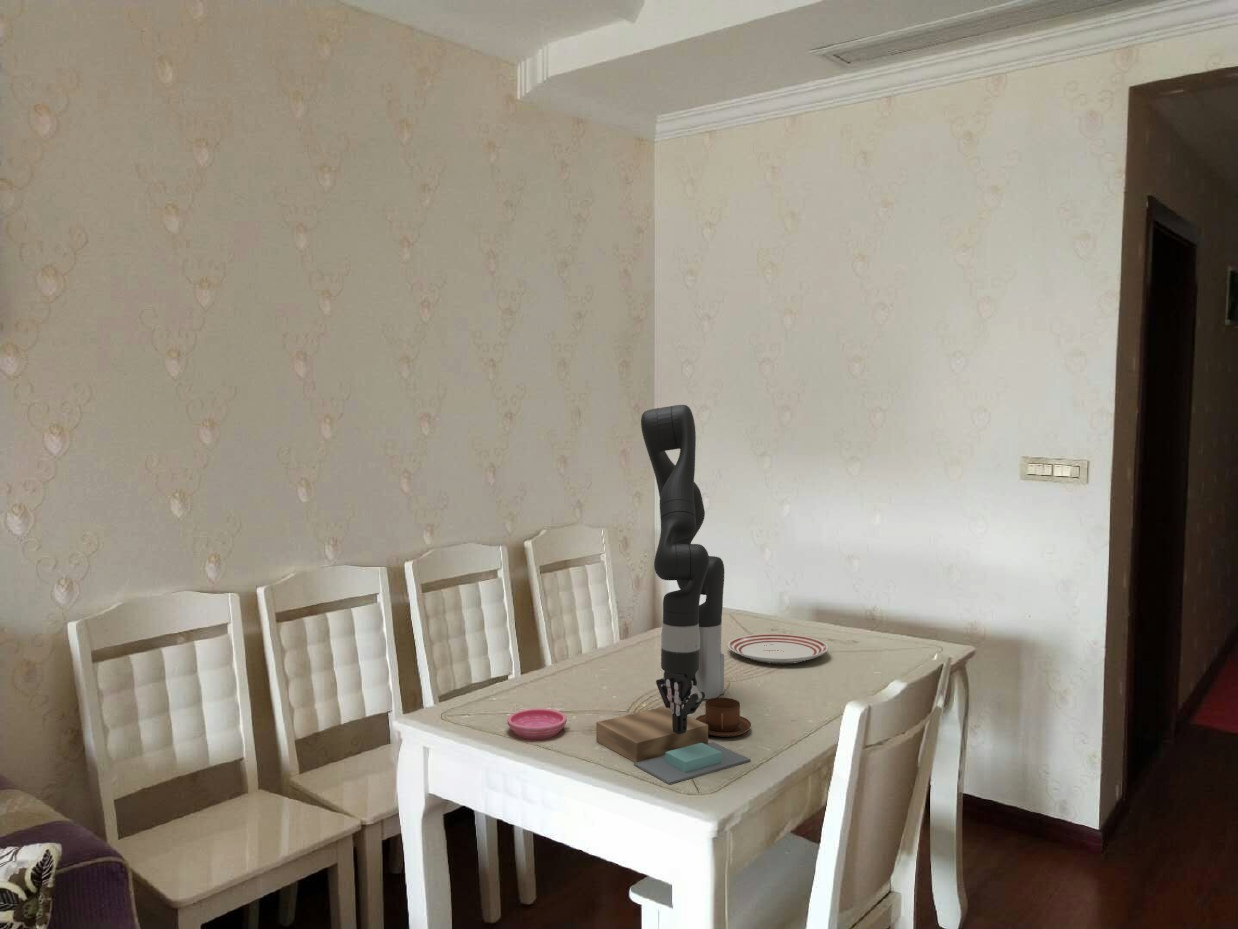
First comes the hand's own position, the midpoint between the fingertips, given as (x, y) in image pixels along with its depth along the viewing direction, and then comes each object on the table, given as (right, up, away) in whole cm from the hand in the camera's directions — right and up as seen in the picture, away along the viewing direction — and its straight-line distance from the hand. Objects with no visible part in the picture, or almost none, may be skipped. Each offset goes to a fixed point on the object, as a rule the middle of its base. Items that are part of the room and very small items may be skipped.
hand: (679, 732), depth 184 cm
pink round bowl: (-29, -4, +14) cm, 33 cm away
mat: (+2, -5, -3) cm, 6 cm away
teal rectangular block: (+3, -3, -4) cm, 5 cm away
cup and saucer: (+10, -4, +15) cm, 19 cm away
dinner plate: (+32, 0, +75) cm, 81 cm away
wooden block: (-5, -4, +8) cm, 10 cm away
